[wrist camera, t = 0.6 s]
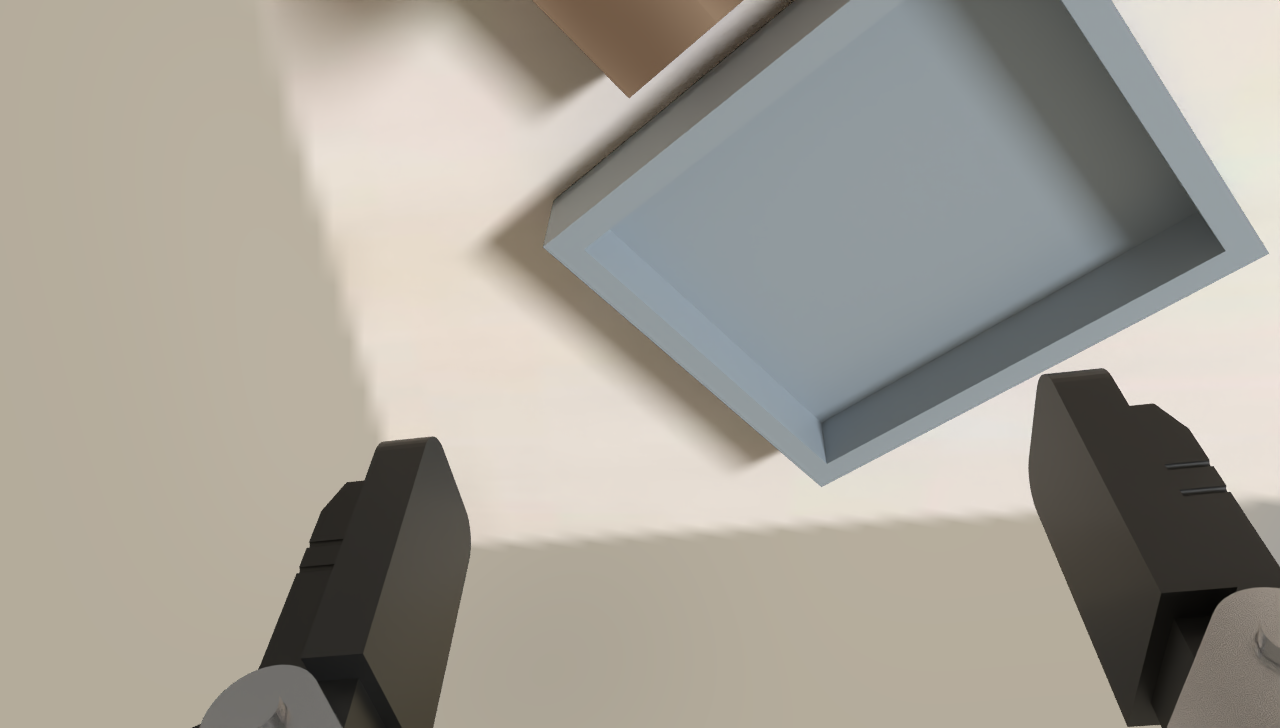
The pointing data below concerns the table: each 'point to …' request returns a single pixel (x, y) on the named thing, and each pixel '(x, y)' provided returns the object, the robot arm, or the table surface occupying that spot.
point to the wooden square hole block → (634, 32)
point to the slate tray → (901, 214)
